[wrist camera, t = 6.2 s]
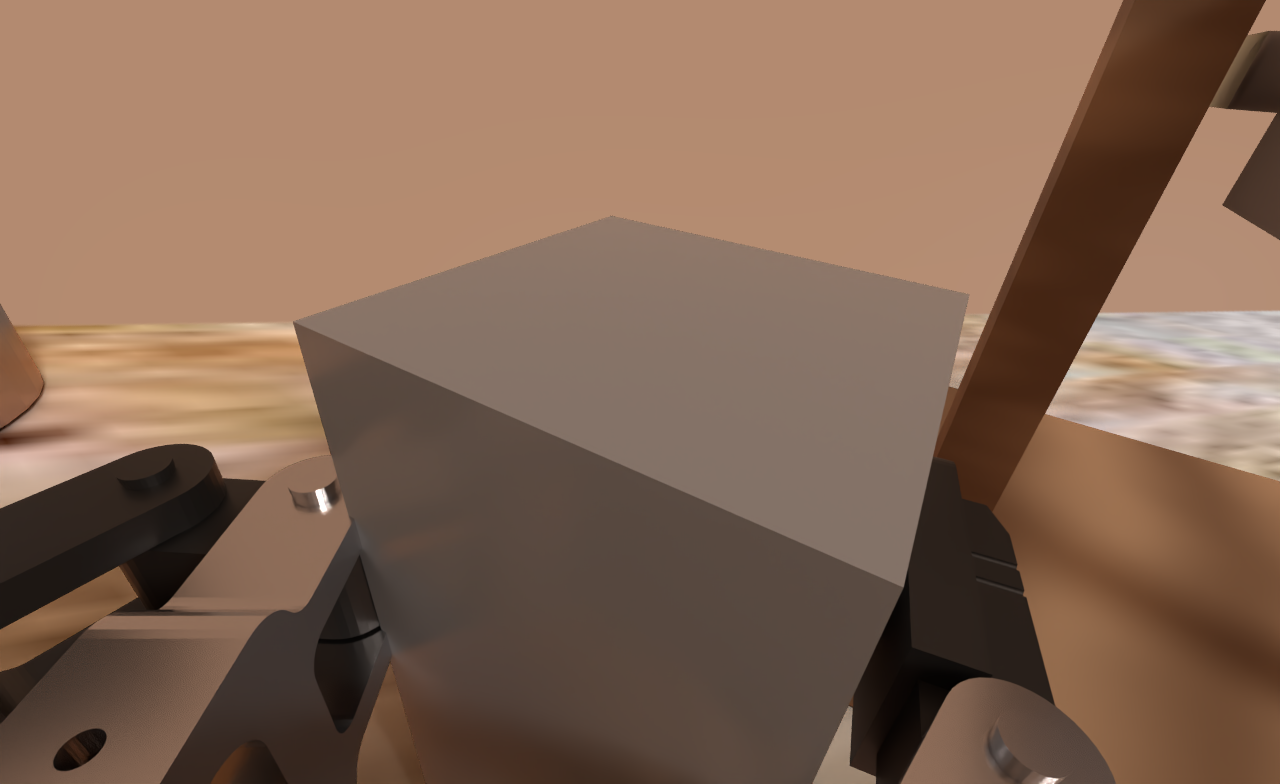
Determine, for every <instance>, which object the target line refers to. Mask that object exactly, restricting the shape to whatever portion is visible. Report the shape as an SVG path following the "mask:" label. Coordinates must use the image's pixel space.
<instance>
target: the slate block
mask: <svg viewBox="0 0 1280 784" xmlns="http://www.w3.org/2000/svg"><path fill="white" fill-rule="evenodd" d="M968 298H969V294H965V293H961V292H956V291H952V290H947V289H942V288H938V287H933V286H928V285H924V284H919V283H915V282H910V281H906V280H901V279H897V278H892V277H888V276H883V275H879V274H874V273H869V272H865V271H860V270H855V269H851V268H847V267H842V266H838V265H833V264H828V263H824V262H819V261H814V260H810V259H806V258H801V257H797V256H792V255H788V254H783V253H778V252H774V251H769V250H764V249H760V248H755V247H751V246H746V245H742V244H737V243H733V242H728V241H724V240H719V239H714V238H710V237H705V236H701V235H696V234H692V233H687V232H683V231H678V230H673V229H669V228H664V227H659V226H655V225H651V224H646V223H642V222H637V221H633V220H628V219H623V218H618V217H614V216H610V217H607V218H604V219H601V220H598V221H595V222H592V223H589V224H586V225H583V226H580V227H577V228H574V229H571V230H568V231H565V232H562V233H559V234H556V235H553V236H550V237H547V238H544V239H541V240H538V241H535V242H532V243H529V244H526V245H523V246H520V247H517V248H514V249H511V250H508V251H505V252H501V253H498V254H496V255H493V256H490V257H487V258H483V259H480V260H477V261H474V262H472V263H468V264H465V265H462V266H459V267H457V268H453V269H450V270H447V271H445V272H441V273H438V274H435V275H432V276H429V277H426V278H423V279H420V280H417V281H414V282H411V283H408V284H405V285H402V286H399V287H396V288H393V289H390V290H387V291H384V292H381V293H378V294H375V295H372V296H369V297H366V298H363V299H360V300H357V301H354V302H351V303H348V304H345V305H342V306H339V307H336V308H333V309H330V310H327V311H324V312H320V313H317V314H314V315H311V316H308V317H306V318H303V319H299V320H296V321H293V324H294V327H295V331H296V334H297V338H298V341H299V345H300V348H301V352H302V355H303V359H304V362H305V366H306V369H307V373H308V376H309V380H310V383H311V387H312V390H313V393H314V397H315V400H316V404H317V407H318V411H319V414H320V418H321V421H322V425H323V428H324V432H325V435H326V439H327V442H328V446H329V449H330V453H331V456H332V460H333V463H334V467H335V470H336V474H337V477H338V480H339V484H340V487H341V491H342V494H343V498H344V501H345V505H346V508H347V512H348V515H349V516H351V517H352V518H354V520H355V523H356V527H357V530H358V534H359V537H360V541H361V545H362V548H363V549H362V551H361V553H360V557H361V561H362V564H363V567H364V571H365V574H366V578H367V581H368V585H369V588H370V592H371V595H372V599H373V602H374V606H375V609H376V613H377V616H378V620H379V623H380V627H381V629H382V630H383V631H384V632H386V633H387V637H388V641H389V644H390V648H391V651H392V657H391V660H390V661H391V665H392V668H393V672H394V675H395V679H396V682H397V686H398V689H399V693H400V696H401V700H402V703H403V707H404V710H405V714H406V717H407V721H408V724H409V728H410V731H411V735H412V738H413V742H414V745H415V748H416V752H417V755H418V759H419V762H420V766H421V769H422V773H423V776H424V780H425V783H426V784H812V783H813V780H814V778H815V776H816V774H817V772H818V770H819V768H820V765H821V763H822V761H823V759H824V757H825V755H826V753H827V750H828V748H829V746H830V744H831V742H832V740H833V738H834V735H835V733H836V731H837V729H838V727H839V725H840V723H841V720H842V718H843V716H844V714H845V712H846V710H847V708H848V705H849V703H850V701H851V699H852V697H853V695H854V693H855V690H856V688H857V686H858V684H859V682H860V680H861V678H862V675H863V673H864V671H865V669H866V667H867V665H868V663H869V660H870V658H871V656H872V654H873V652H874V650H875V648H876V645H877V643H878V641H879V639H880V637H881V635H882V633H883V630H884V628H885V626H886V624H887V622H888V620H889V618H890V615H891V613H892V611H893V609H894V607H895V605H896V603H897V600H898V598H899V596H900V594H901V592H902V590H903V588H904V583H905V579H906V574H907V570H908V565H909V561H910V556H911V552H912V548H913V543H914V539H915V534H916V530H917V525H918V521H919V516H920V512H921V507H922V503H923V499H924V494H925V490H926V485H927V481H928V476H929V472H930V467H931V463H932V459H933V454H934V450H935V445H936V441H937V436H938V432H939V427H940V423H941V418H942V414H943V410H944V405H945V401H946V396H947V392H948V387H949V383H950V378H951V374H952V370H953V365H954V361H955V356H956V352H957V347H958V343H959V338H960V334H961V330H962V325H963V321H964V316H965V312H966V307H967V303H968Z"/></svg>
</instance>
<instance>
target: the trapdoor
mask: <svg viewBox="0 0 1280 784" xmlns="http://www.w3.org/2000/svg"><path fill="white" fill-rule="evenodd" d="M1209 107H1217V108H1225V109H1236V110H1248V111H1262V112H1274V113H1277V114H1276V116H1275V117H1274V119H1273V121H1272V122H1271V124H1270V126H1269V128H1268V129H1267V131H1266V133H1265V134H1264V136H1263V138H1262V139H1261V141H1260V143H1259V144H1258V146H1257V148H1256V149H1255V151H1254V153H1253V154H1252V156H1251V158H1250V159H1249V161H1248V163H1247V164H1246V166H1245V168H1244V170H1243V171H1242V173H1241V174H1240V176H1239V178H1238V180H1237V181H1236V183H1235V185H1234V186H1233V188H1232V190H1231V191H1230V193H1229V195H1228V196H1227V198H1226V200H1225V201H1224V203H1223V206H1225V207H1226V208H1228V209H1230V210H1231V211H1233V212H1234V213H1236V214H1238V215H1239V216H1241V217H1243V218H1244V219H1246V220H1248V221H1249V222H1251V223H1253V224H1254V225H1256V226H1258V227H1259V228H1261V229H1262V230H1264V231H1266V232H1267V233H1269V234H1271V235H1272V236H1274V237H1276V238H1277V239H1279V240H1280V31H1267V32H1263V33H1257V34H1252V35H1247V37H1246V38H1245V40H1244V42H1243V44H1242V46H1241V48H1240V50H1239V51H1238V53H1237V55H1236V57H1235V59H1234V61H1233V63H1232V65H1231V66H1230V68H1229V70H1228V72H1227V74H1226V76H1225V78H1224V80H1223V81H1222V83H1221V85H1220V87H1219V89H1218V91H1217V93H1216V95H1215V96H1214V98H1213V100H1212V102H1211V104H1210V106H1209Z"/></svg>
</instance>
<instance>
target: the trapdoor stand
mask: <svg viewBox="0 0 1280 784" xmlns="http://www.w3.org/2000/svg"><path fill="white" fill-rule="evenodd" d="M1265 1H1266V0H1123V2H1122V5H1121V7H1120V9H1119V12H1118V14H1117V17H1116V19H1115V21H1114V24H1113V26H1112V28H1111V30H1110V33H1109V35H1108V38H1107V40H1106V42H1105V45H1104V47H1103V49H1102V52H1101V54H1100V56H1099V59H1098V61H1097V63H1096V66H1095V68H1094V71H1093V73H1092V75H1091V78H1090V80H1089V83H1088V85H1087V87H1086V89H1085V92H1084V94H1083V96H1082V99H1081V101H1080V103H1079V106H1078V108H1077V111H1076V113H1075V115H1074V118H1073V120H1072V122H1071V125H1070V127H1069V129H1068V132H1067V134H1066V137H1065V139H1064V141H1063V143H1062V146H1061V149H1060V151H1059V153H1058V155H1057V158H1056V160H1055V162H1054V165H1053V167H1052V169H1051V172H1050V174H1049V177H1048V179H1047V181H1046V184H1045V186H1044V188H1043V191H1042V193H1041V195H1040V198H1039V201H1038V202H1037V205H1036V207H1035V209H1034V212H1033V214H1032V216H1031V219H1030V221H1029V224H1028V226H1027V228H1026V231H1025V233H1024V235H1023V238H1022V240H1021V242H1020V245H1019V247H1018V250H1017V252H1016V254H1015V257H1014V259H1013V261H1012V264H1011V266H1010V268H1009V271H1008V273H1007V276H1006V278H1005V280H1004V282H1003V285H1002V287H1001V290H1000V292H999V294H998V297H997V299H996V301H995V304H994V306H993V308H992V311H991V313H990V315H989V318H988V320H987V322H986V325H985V327H984V330H983V332H982V334H981V337H980V339H979V341H978V344H977V346H976V348H975V351H974V353H973V355H972V358H971V360H970V362H969V365H968V367H967V370H966V372H965V374H964V377H963V379H962V381H961V384H960V386H959V388H958V389H956V388H952V387H948V392H947V396H946V401H945V405H944V410H943V414H942V418H941V423H940V427H939V432H938V436H937V441H936V445H935V450H934V454H933V456H934V457H938V458H942V459H946V460H950V461H953V462H954V463H955V464H956V468H957V474H958V479H959V485H960V491H961V496H962V499H965V500H969V501H973V502H977V503H980V504H984V505H987V506H988V508H989V509H990V510H991V511H992V513H993V514H994V515H995V516H996V518H997V519H998V520H999V522H1000V523H1001V524H1002V525H1003V527H1004V528H1005V529H1006V531H1007V532H1008V533H1009V534H1010V538H1011V541H1012V545H1013V549H1014V553H1015V556H1016V560H1017V564H1018V565H1017V570H1018V571H1020V575H1021V579H1022V583H1023V586H1024V590H1025V591H1024V594H1023V596H1024V597H1026V598H1027V601H1028V605H1029V609H1030V613H1031V616H1032V620H1033V624H1034V628H1035V631H1036V635H1037V639H1038V643H1039V646H1040V650H1041V654H1042V658H1043V661H1044V665H1045V669H1046V673H1047V676H1048V680H1049V684H1050V688H1051V691H1052V695H1053V699H1054V703H1055V705H1056V707H1057V708H1058V709H1060V710H1061V711H1062V712H1063V713H1064V714H1066V715H1067V716H1068V717H1069V718H1070V719H1072V720H1073V721H1074V722H1075V723H1076V724H1077V725H1078V726H1079V727H1080V728H1081V729H1082V730H1083V731H1084V733H1085V734H1086V735H1087V736H1088V737H1089V738H1090V740H1091V741H1092V742H1093V743H1094V745H1095V746H1096V747H1097V749H1098V750H1099V752H1100V753H1101V755H1102V756H1103V758H1104V759H1105V761H1106V762H1107V764H1108V766H1109V768H1110V770H1111V772H1112V774H1113V776H1114V779H1115V782H1116V784H1280V481H1276V480H1273V479H1269V478H1266V477H1262V476H1259V475H1255V474H1252V473H1248V472H1245V471H1241V470H1238V469H1234V468H1231V467H1228V466H1224V465H1221V464H1217V463H1214V462H1210V461H1207V460H1203V459H1200V458H1196V457H1193V456H1189V455H1186V454H1182V453H1179V452H1175V451H1172V450H1168V449H1165V448H1161V447H1158V446H1154V445H1151V444H1147V443H1144V442H1140V441H1137V440H1133V439H1130V438H1126V437H1123V436H1120V435H1116V434H1113V433H1109V432H1106V431H1102V430H1099V429H1095V428H1092V427H1088V426H1085V425H1081V424H1078V423H1074V422H1071V421H1067V420H1064V419H1060V418H1057V417H1053V416H1050V415H1046V414H1045V413H1046V411H1047V409H1048V407H1049V405H1050V403H1051V401H1052V399H1053V398H1054V396H1055V394H1056V392H1057V390H1058V388H1059V386H1060V385H1061V383H1062V381H1063V379H1064V377H1065V375H1066V373H1067V371H1068V370H1069V368H1070V366H1071V364H1072V362H1073V360H1074V358H1075V356H1076V355H1077V353H1078V351H1079V349H1080V347H1081V345H1082V343H1083V341H1084V340H1085V338H1086V336H1087V334H1088V332H1089V330H1090V328H1091V327H1092V325H1093V323H1094V321H1095V319H1096V317H1097V315H1098V313H1099V312H1100V310H1101V308H1102V306H1103V304H1104V302H1105V300H1106V298H1107V297H1108V294H1109V293H1110V291H1111V289H1112V287H1113V285H1114V283H1115V282H1116V280H1117V278H1118V276H1119V274H1120V272H1121V270H1122V269H1123V266H1124V265H1125V263H1126V261H1127V259H1128V257H1129V255H1130V254H1131V251H1132V250H1133V248H1134V246H1135V244H1136V242H1137V240H1138V239H1139V237H1140V235H1141V233H1142V231H1143V229H1144V227H1145V225H1146V224H1147V222H1148V220H1149V218H1150V216H1151V214H1152V212H1153V211H1154V209H1155V207H1156V205H1157V203H1158V201H1159V199H1160V197H1161V196H1162V194H1163V191H1164V190H1165V188H1166V186H1167V184H1168V182H1169V181H1170V179H1171V177H1172V175H1173V173H1174V171H1175V169H1176V167H1177V165H1178V164H1179V162H1180V160H1181V158H1182V156H1183V154H1184V152H1185V151H1186V148H1187V147H1188V145H1189V143H1190V141H1191V139H1192V138H1193V136H1194V134H1195V132H1196V130H1197V128H1198V126H1199V124H1200V122H1201V120H1202V119H1203V117H1204V115H1205V113H1206V111H1207V109H1208V108H1209V106H1210V104H1211V102H1212V100H1213V98H1214V96H1215V95H1216V93H1217V91H1218V89H1219V87H1220V85H1221V83H1222V81H1223V80H1224V78H1225V76H1226V74H1227V72H1228V70H1229V68H1230V66H1231V65H1232V63H1233V61H1234V59H1235V57H1236V55H1237V53H1238V51H1239V50H1240V48H1241V46H1242V44H1243V42H1244V40H1245V38H1246V37H1247V35H1248V33H1249V31H1250V29H1251V27H1252V25H1253V23H1254V22H1255V20H1256V18H1257V16H1258V14H1259V12H1260V10H1261V8H1262V6H1263V4H1264V3H1265ZM853 696H854V695H853ZM849 705H850V706H852V707H853V697H852V699H851V701H850V703H849Z"/></svg>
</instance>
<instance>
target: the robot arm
mask: <svg viewBox="0 0 1280 784" xmlns="http://www.w3.org/2000/svg"><path fill="white" fill-rule="evenodd" d="M43 384H44V382H43V380H42V377H41V374H40V372H39V370H38V369H37V367H36V365H35V363H34V362H33V360H32V358H31V356H30V355H29V353H28V351H27V349H26V348H25V346H24V344H23V343H22V341H21V339H20V337H19V336H18V334H17V332H16V330H15V329H14V327H13V325H12V323H11V322H10V320H9V318H8V316H7V315H6V313H5V311H4V310H3V308H2V306H1V304H0V428H2V427H3V426H5V425H7V424H8V423H9V422H11V421H12V420H13V419H15V418H16V417H17V416H19V415H20V414H21V413H23V412H24V411H25V410H27V409H28V408H29V407H30V405H31V404H32V403H33V402H34V401H35V400H36V399H37V397H38V396H39V395H40V393H41V390H42V387H43ZM362 549H363V548H362V545H361V541H360V537H359V534H358V530H357V527H356V523H355V520H354V518H352V517H351V516H349V515H348V512H347V508H346V505H345V501H344V498H343V494H342V491H341V487H340V484H339V480H338V477H337V474H336V470H335V467H334V463H333V460H332V456H331V455H327V456H319V457H315V458H310V459H307V460H303V461H300V462H297V463H295V464H293V465H290V466H288V467H286V468H284V469H282V470H281V471H279V472H277V473H276V474H274V475H273V476H272V477H270V478H269V479H268V480H267V481H258V480H241V479H225V478H222V476H221V474H220V471H219V469H218V467H217V464H216V462H215V460H214V457H213V455H212V453H211V452H210V451H209V450H207V449H205V448H203V447H201V446H197V445H191V444H173V445H164V446H158V447H154V448H149V449H145V450H142V451H139V452H136V453H133V454H130V455H128V456H125V457H123V458H120V459H118V460H115V461H113V462H111V463H108V464H106V465H103V466H101V467H99V468H96V469H94V470H91V471H89V472H87V473H84V474H82V475H79V476H77V477H75V478H72V479H70V480H68V481H65V482H63V483H60V484H58V485H56V486H53V487H51V488H48V489H46V490H44V491H41V492H39V493H36V494H34V495H32V496H29V497H27V498H25V499H22V500H20V501H17V502H15V503H13V504H10V505H8V506H5V507H3V508H1V509H0V629H2V628H4V627H6V626H7V625H9V624H11V623H13V622H15V621H17V620H19V619H21V618H22V617H24V616H26V615H28V614H30V613H32V612H34V611H35V610H37V609H39V608H41V607H43V606H45V605H47V604H48V603H50V602H52V601H54V600H56V599H58V598H60V597H61V596H63V595H65V594H67V593H69V592H71V591H73V590H75V589H76V588H78V587H80V586H82V585H84V584H86V583H88V582H89V581H91V580H93V579H95V578H97V577H99V576H101V575H102V574H104V573H106V572H108V571H110V570H112V569H114V568H116V567H117V566H119V567H120V568H121V570H122V571H123V573H124V575H125V576H126V578H127V580H128V581H129V583H130V584H131V586H132V588H133V589H134V591H135V592H136V594H137V596H138V598H136V599H135V600H133V601H131V602H129V603H128V604H126V605H124V606H123V607H121V608H119V609H117V610H116V611H114V612H112V613H111V614H109V615H107V616H105V617H104V618H102V619H100V620H99V621H97V622H95V623H93V624H92V625H90V626H88V627H87V628H85V629H83V630H82V631H80V632H78V633H76V634H75V635H73V636H71V637H70V638H68V639H66V640H64V641H63V642H61V643H59V644H58V645H56V646H54V647H52V648H51V649H49V650H47V651H46V652H44V653H42V654H40V655H39V656H37V657H35V658H34V659H32V660H30V661H28V662H27V663H25V664H23V665H21V666H18V667H16V668H13V669H10V670H6V671H2V672H0V784H356V783H357V760H358V754H359V749H360V745H361V741H362V738H363V735H364V733H365V730H366V727H367V724H368V721H369V719H370V716H371V713H372V710H373V707H374V705H375V702H376V699H377V696H378V694H379V691H380V688H381V685H382V682H383V680H384V677H385V674H386V671H387V668H388V666H389V663H390V660H391V657H392V651H391V648H390V644H389V641H388V637H387V633H386V632H384V631H383V630H382V629H381V627H380V623H379V620H378V616H377V613H376V609H375V606H374V602H373V599H372V595H371V592H370V588H369V585H368V581H367V578H366V574H365V571H364V567H363V564H362V561H361V557H360V553H361V551H362ZM1017 565H1018V564H1017V560H1016V556H1015V553H1014V549H1013V545H1012V541H1011V538H1010V534H1009V533H1008V532H1007V531H1006V529H1005V528H1004V527H1003V525H1002V524H1001V523H1000V522H999V520H998V519H997V518H996V516H995V515H994V514H993V513H992V511H991V510H990V509H989V508H988V506H987V505H984V504H980V503H977V502H973V501H969V500H965V499H962V496H961V491H960V485H959V479H958V474H957V468H956V464H955V463H954V462H953V461H950V460H946V459H942V458H938V457H934V456H933V459H932V463H931V467H930V472H929V476H928V481H927V485H926V490H925V494H924V499H923V503H922V507H921V512H920V516H919V521H918V525H917V530H916V534H915V539H914V543H913V548H912V552H911V556H910V561H909V565H908V570H907V574H906V579H905V583H904V588H903V590H902V592H901V594H900V596H899V598H898V600H897V603H896V605H895V607H894V609H893V611H892V613H891V615H890V618H889V620H888V622H887V624H886V626H885V628H884V630H883V633H882V635H881V637H880V639H879V641H878V643H877V645H876V648H875V650H874V652H873V654H872V656H871V658H870V660H869V663H868V665H867V667H866V669H865V671H864V673H863V675H862V678H861V680H860V682H859V684H858V686H857V688H856V690H855V693H854V696H853V715H852V734H851V753H850V766H852V767H854V768H856V769H859V770H861V771H864V772H866V773H869V774H871V775H873V776H876V784H1116V782H1115V779H1114V776H1113V774H1112V772H1111V770H1110V768H1109V766H1108V764H1107V762H1106V761H1105V759H1104V758H1103V756H1102V755H1101V753H1100V752H1099V750H1098V749H1097V747H1096V746H1095V745H1094V743H1093V742H1092V741H1091V740H1090V738H1089V737H1088V736H1087V735H1086V734H1085V733H1084V731H1083V730H1082V729H1081V728H1080V727H1079V726H1078V725H1077V724H1076V723H1075V722H1074V721H1073V720H1072V719H1070V718H1069V717H1068V716H1067V715H1066V714H1064V713H1063V712H1062V711H1061V710H1060V709H1058V708H1057V707H1056V705H1055V703H1054V699H1053V695H1052V691H1051V688H1050V684H1049V680H1048V676H1047V673H1046V669H1045V665H1044V661H1043V658H1042V654H1041V650H1040V646H1039V643H1038V639H1037V635H1036V631H1035V628H1034V624H1033V620H1032V616H1031V613H1030V609H1029V605H1028V601H1027V598H1026V597H1024V596H1023V594H1024V591H1025V590H1024V586H1023V583H1022V579H1021V575H1020V571H1018V570H1017Z"/></svg>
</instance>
